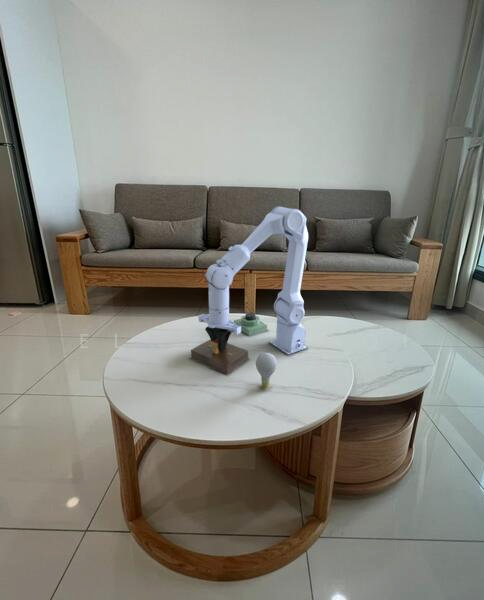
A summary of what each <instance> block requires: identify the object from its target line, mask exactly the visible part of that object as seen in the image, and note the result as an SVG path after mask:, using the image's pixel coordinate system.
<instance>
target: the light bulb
mask: <svg viewBox="0 0 484 600" xmlns="http://www.w3.org/2000/svg"><path fill="white" fill-rule="evenodd" d="M277 367H278V361H277V358H276V356H275V355H274V354H272V353H271V352H263V353H261V354H259V355H258V356H257V358H256V360H255V369H256V370H257V372H258V373H259V375H260V377H261V379H260V380H261V388H263V389H268V388H269V387H270V386H271V385H270V381H271V377H272V375H273V374H274V373H275V372H276V370H277Z"/></svg>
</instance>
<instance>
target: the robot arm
mask: <svg viewBox="0 0 484 600" xmlns="http://www.w3.org/2000/svg"><path fill="white" fill-rule="evenodd" d="M307 220H308V219H307V217H306V215H305V214H304V213H303V212H302V211H301V210H300V209H298V208H289V207H285V206H275V207H274V208H273V209H272V210H271V211H270V212H269V213H267V214H266V215H265V217H264V219H263V220H262V222H261V223H259V224H258V226H257V227H256V228H255V229H254V230H253V231H252V232H251V234H250V235H249V236H248V237H247V238H246V239H245V240H244V241H243V242H242V243H241V244H234V245H233V246H231V245H230V246H229V247H228V251H227V252H226V253H225V254H224V255H223V256H222V257H221V258H220V259H217V260H216V261H215V262H216V263H214V264H211V265H210V266H209V267H208V268H207V269H206V272H205V273H204V277H205V279H206V281H207V282H208V314H205V313H202V314H200V315H198V322H199V323H205V324H207V326H206V327H205V332H206V333H207V335H208V337H209V340H210V339H211V342H213V341H214V340H216V339H218V345H219V351H220V352H222V351H223V350H225V348H226V344H227V343H228V341H229V338H230V336H231V335H232V333H233V334H234V335H236V336H238V335H239V334H241V333H242V331H241V326H239V325H237V324H235V323H234V321H232V320H231V319H230V286H232V283H233V280H234V277H235V275H237V273H238V272H239V271H241V269H242V268H243V267H244V266H245V265H247V263H248V262H249V261H250V260H251V253H252V252H254V251H255V250H256V249H257V248H258V247H259V246H260V245H262V244H263V243H264V242H265V241H266V240H267V239H268V238H269V237H271V236H272V235H280V234H281V235H282V234H283V235H284V236H285V238H286V239H287V240H288V246H287V253H286V255H287V256H286V260H285V269H284V275H283V277H284V278H283V283H282V290H281V291H279V292H278V293H277V297H276V299H275V300H274V301H275V302H274V303H273V310H274V312H275V313H276V329H275V330H276V331H275V332H276V333H275V339H273V340H270V341H269V343H270V344H271V345H273V346H274V347H276V348H277V349H279V350H280V351H281V352H283V353H285V354H286V355H291V354H294V353H297V352H299V351H302V350H305V349H307V346H306V334H307V331H306V328H305V327H304V326H303V325H302V324H301V322H302V321H303V320H304V317H305V313H306V312H305V311H306V310H305V308H304V304H305V301H304V299H303V297H302V295H301V288H302V281H303V274H304V269H305V261H306V256H307V248H308V242H309V232H308V228H307Z"/></svg>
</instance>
